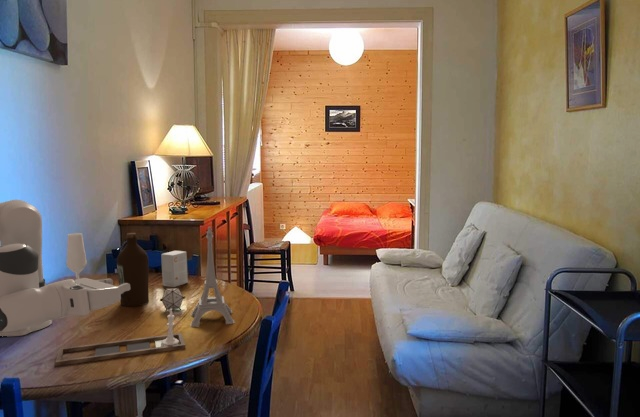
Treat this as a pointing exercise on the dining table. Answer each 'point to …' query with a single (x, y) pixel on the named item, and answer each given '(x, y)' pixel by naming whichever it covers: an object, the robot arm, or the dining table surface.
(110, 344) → the tray
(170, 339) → the chess piece
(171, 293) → the game die
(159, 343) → the pad
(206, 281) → the eiffel tower
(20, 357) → the dining table surface
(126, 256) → the olive oil
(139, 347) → the tiles
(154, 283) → the dining table surface
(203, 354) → the dining table surface
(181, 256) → the small box
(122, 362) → the dining table surface
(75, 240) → the champagne flute
